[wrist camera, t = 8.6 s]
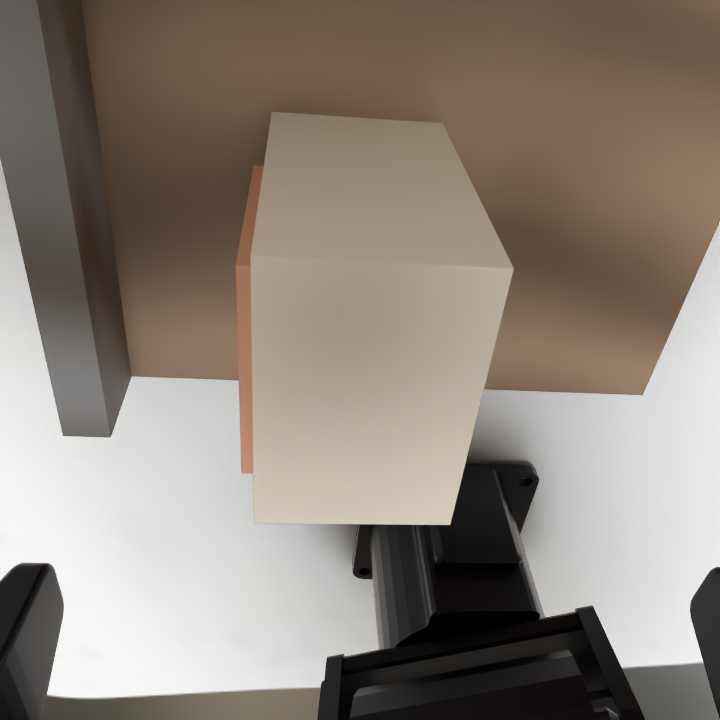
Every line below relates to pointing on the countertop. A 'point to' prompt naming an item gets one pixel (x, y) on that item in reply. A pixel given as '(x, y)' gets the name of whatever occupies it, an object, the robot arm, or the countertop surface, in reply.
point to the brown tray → (363, 100)
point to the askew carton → (363, 321)
